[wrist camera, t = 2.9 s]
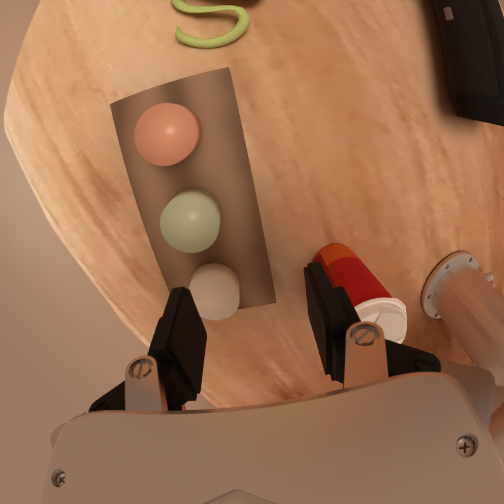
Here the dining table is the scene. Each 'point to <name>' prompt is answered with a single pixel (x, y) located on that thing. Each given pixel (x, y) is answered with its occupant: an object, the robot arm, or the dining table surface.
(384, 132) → the dining table surface
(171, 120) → the terracotta button
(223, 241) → the switch board
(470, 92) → the portable speaker
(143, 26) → the dining table surface
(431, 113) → the dining table surface
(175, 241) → the sage button
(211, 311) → the cream button
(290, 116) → the dining table surface
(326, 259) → the paper cup
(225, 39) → the figurine
